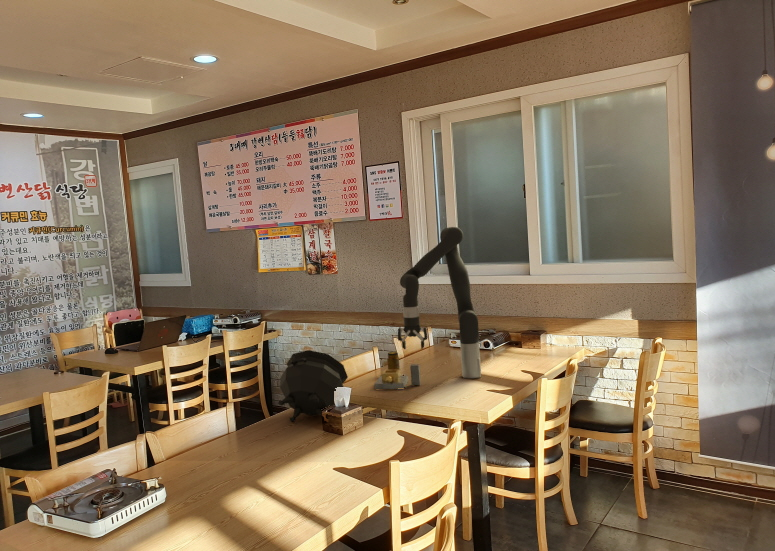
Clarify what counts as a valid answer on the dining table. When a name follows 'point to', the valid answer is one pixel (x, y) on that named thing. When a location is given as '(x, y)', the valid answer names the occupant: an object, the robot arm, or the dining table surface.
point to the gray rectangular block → (415, 374)
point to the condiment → (393, 361)
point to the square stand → (391, 380)
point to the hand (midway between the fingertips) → (413, 348)
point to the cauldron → (311, 382)
